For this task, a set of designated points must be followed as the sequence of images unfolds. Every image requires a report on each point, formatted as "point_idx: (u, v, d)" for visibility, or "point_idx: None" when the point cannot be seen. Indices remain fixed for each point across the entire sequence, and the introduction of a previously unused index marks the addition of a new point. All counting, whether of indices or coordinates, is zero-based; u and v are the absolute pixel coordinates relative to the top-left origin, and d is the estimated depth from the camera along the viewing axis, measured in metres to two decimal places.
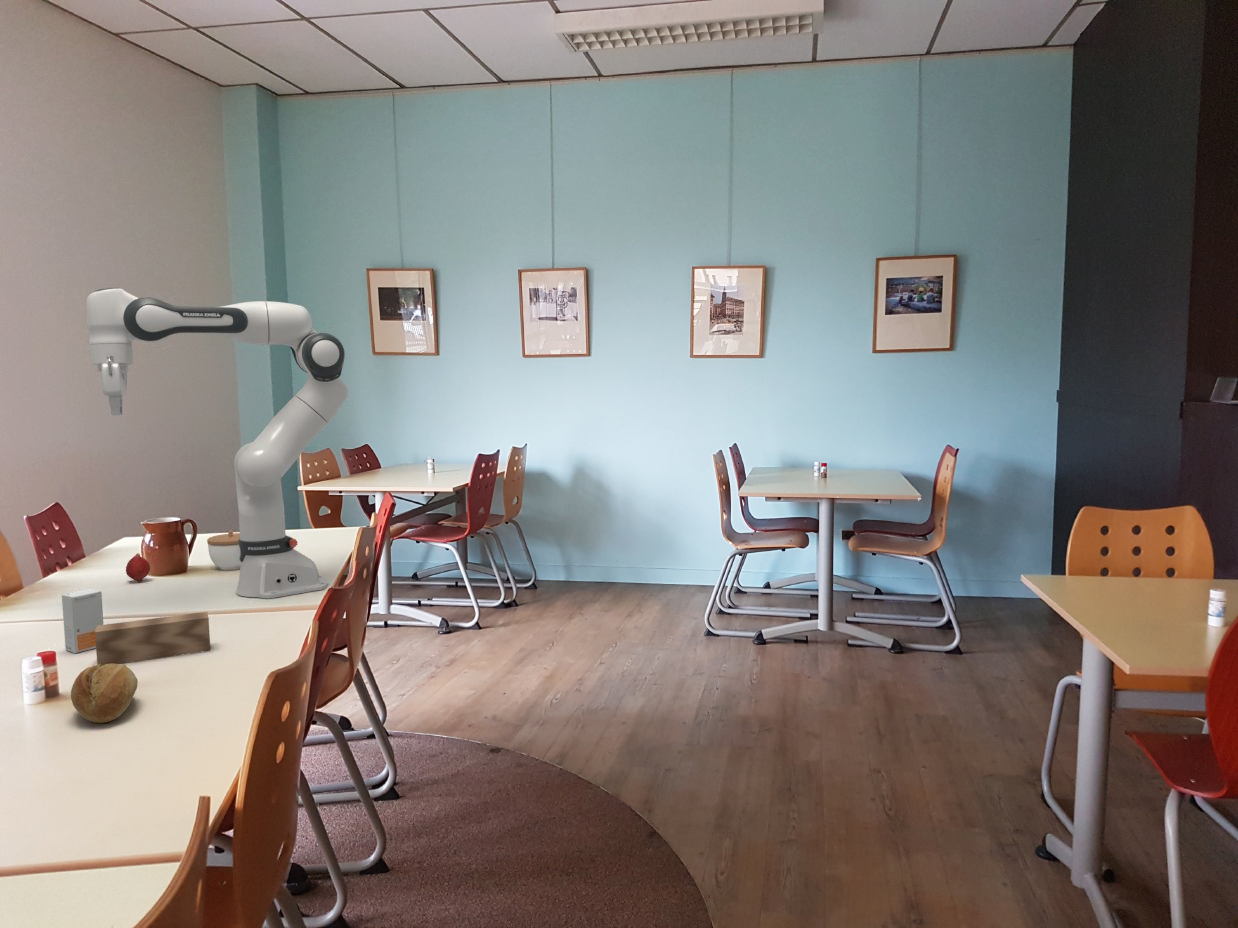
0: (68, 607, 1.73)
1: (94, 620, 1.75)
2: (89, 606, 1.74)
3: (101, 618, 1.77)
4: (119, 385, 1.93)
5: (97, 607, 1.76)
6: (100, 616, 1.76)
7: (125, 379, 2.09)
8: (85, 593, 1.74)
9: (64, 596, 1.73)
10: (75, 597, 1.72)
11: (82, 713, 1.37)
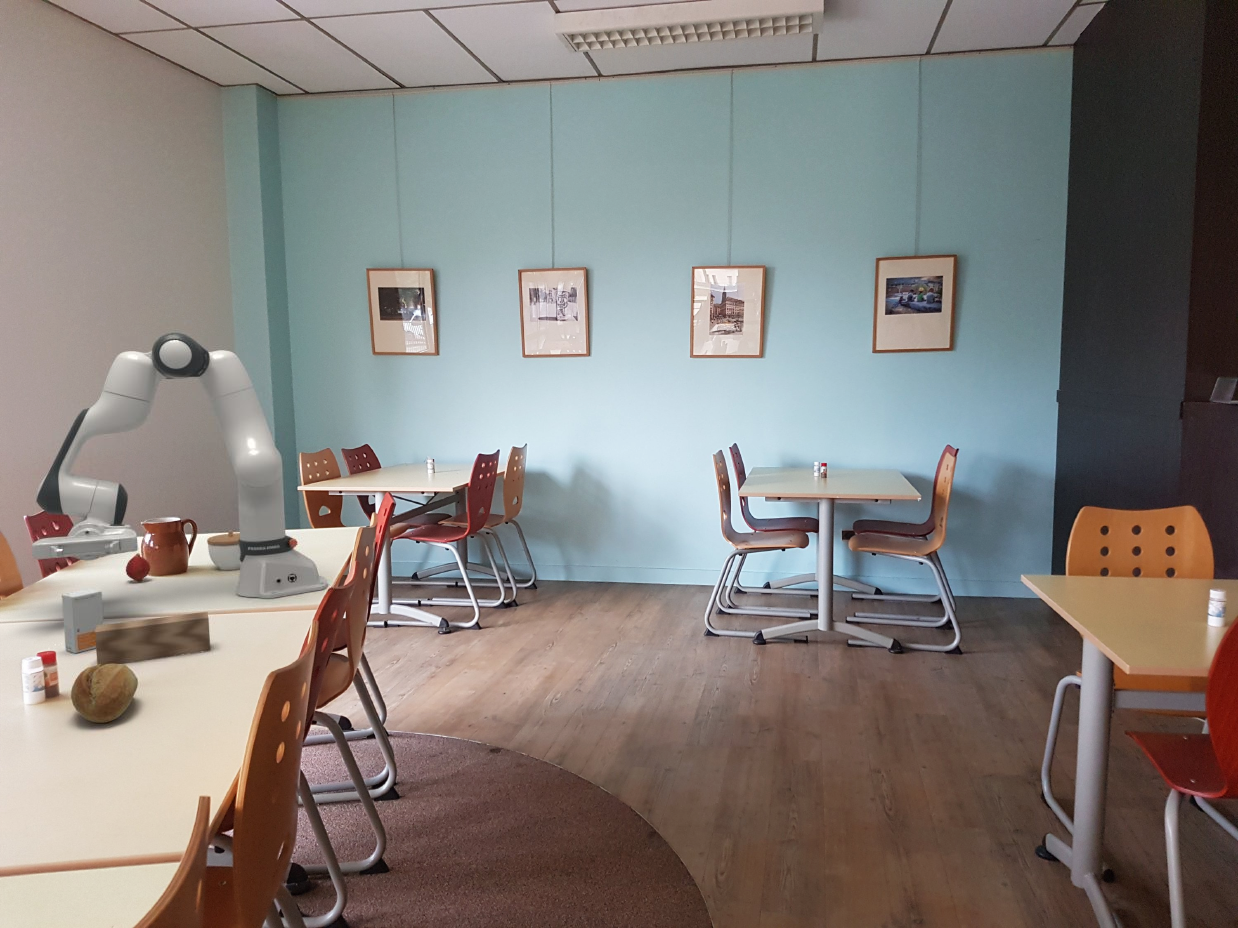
0: (68, 607, 1.73)
1: (94, 620, 1.75)
2: (89, 606, 1.75)
3: (101, 618, 1.77)
4: (33, 543, 1.86)
5: (97, 607, 1.76)
6: (100, 616, 1.76)
7: (128, 533, 1.96)
8: (85, 593, 1.74)
9: (64, 596, 1.73)
10: (75, 597, 1.72)
11: (82, 713, 1.37)
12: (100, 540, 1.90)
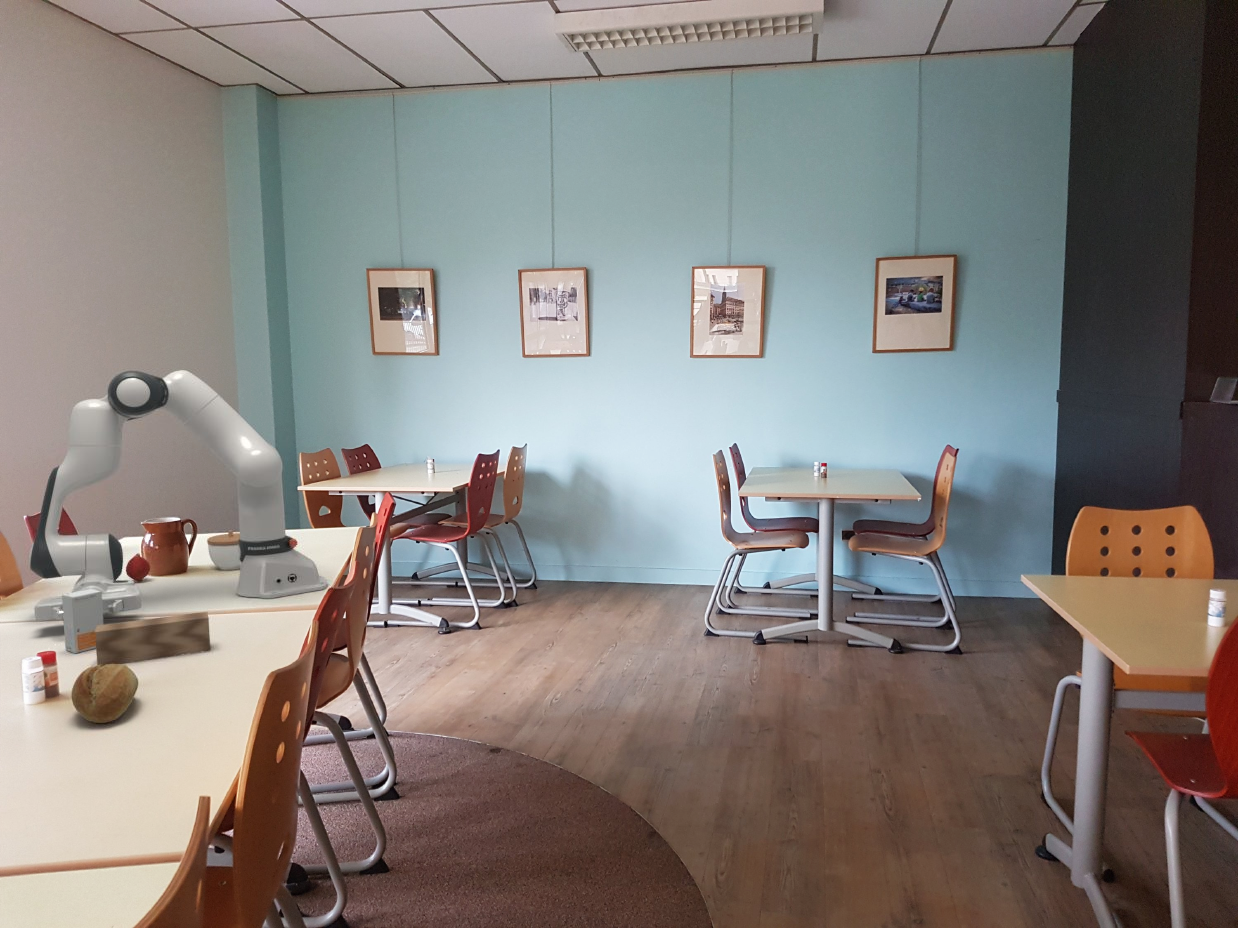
0: (68, 607, 1.73)
1: (94, 620, 1.75)
2: (89, 606, 1.74)
3: (101, 618, 1.77)
4: None
5: (97, 607, 1.76)
6: (100, 616, 1.76)
7: (131, 590, 1.94)
8: (85, 593, 1.74)
9: (64, 596, 1.73)
10: (75, 597, 1.72)
11: (82, 713, 1.37)
12: (103, 599, 1.88)
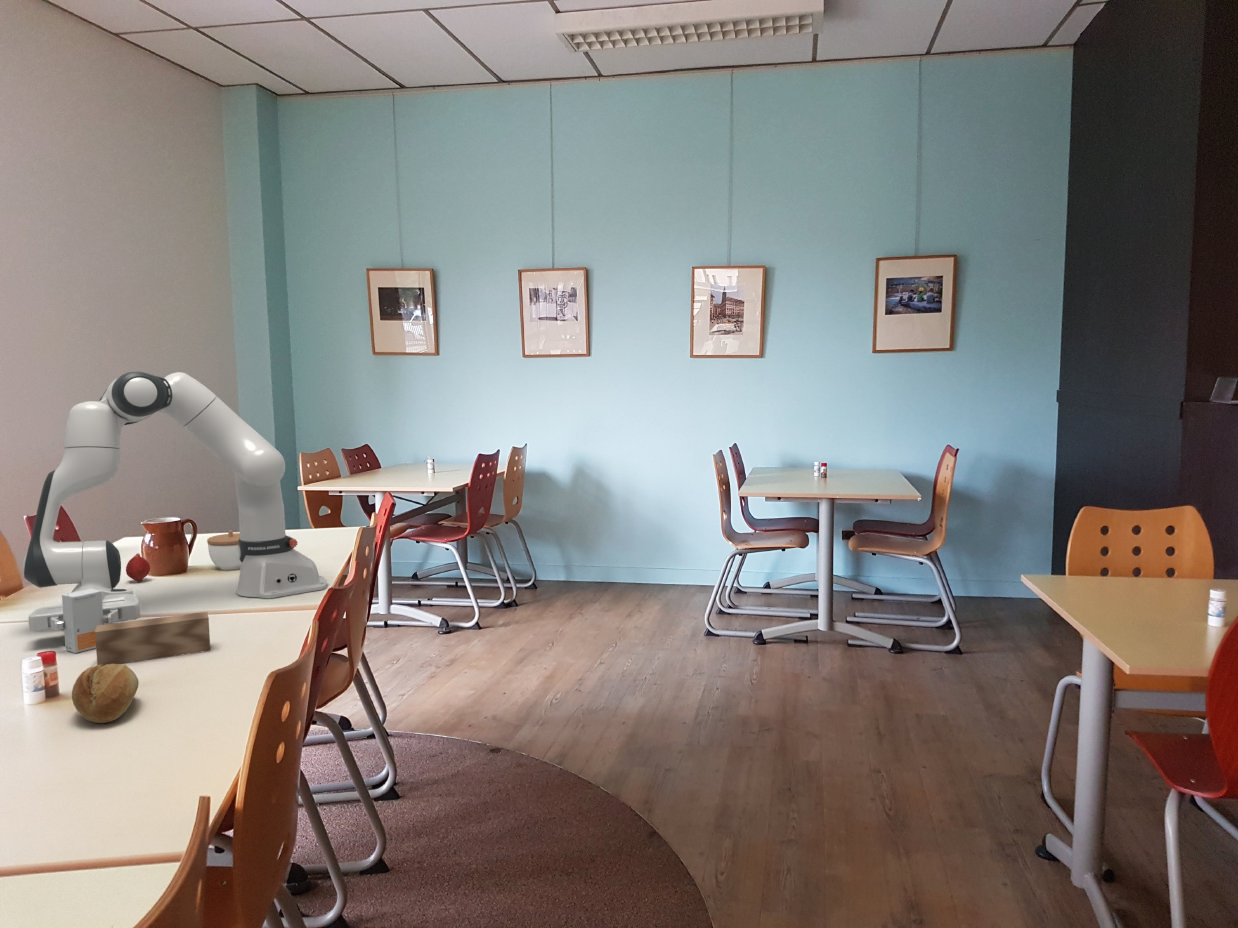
0: (68, 607, 1.73)
1: (94, 620, 1.75)
2: (89, 606, 1.74)
3: (101, 618, 1.77)
4: (30, 614, 1.76)
5: (97, 607, 1.76)
6: (100, 616, 1.76)
7: (130, 599, 1.86)
8: (85, 593, 1.74)
9: (64, 596, 1.73)
10: (75, 597, 1.72)
11: (83, 713, 1.37)
12: None
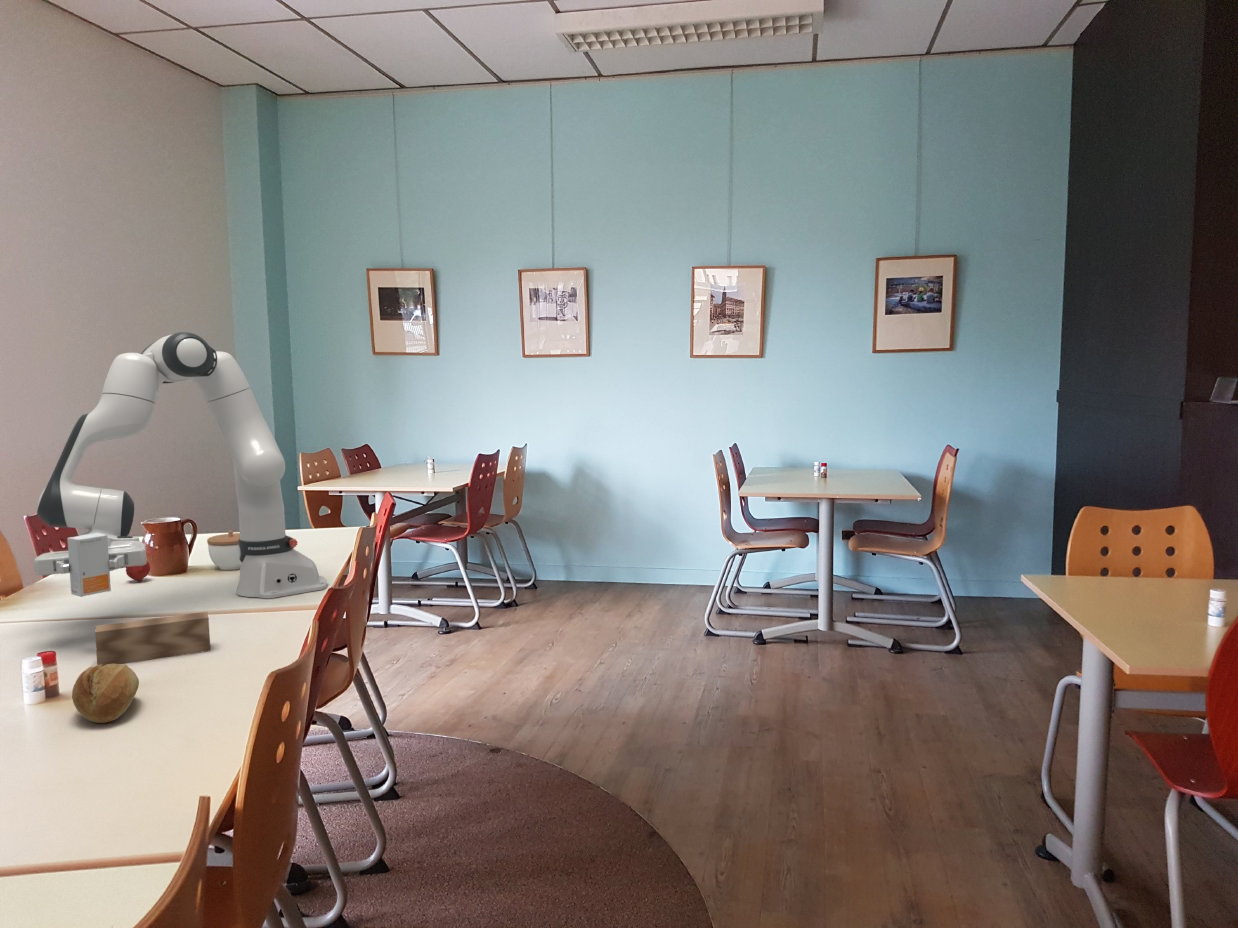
0: (73, 550, 1.70)
1: (100, 564, 1.73)
2: (95, 549, 1.72)
3: (107, 562, 1.74)
4: None
5: (102, 551, 1.74)
6: (106, 560, 1.74)
7: (136, 545, 1.84)
8: (91, 536, 1.72)
9: (70, 539, 1.71)
10: (81, 540, 1.70)
11: (83, 713, 1.37)
12: None
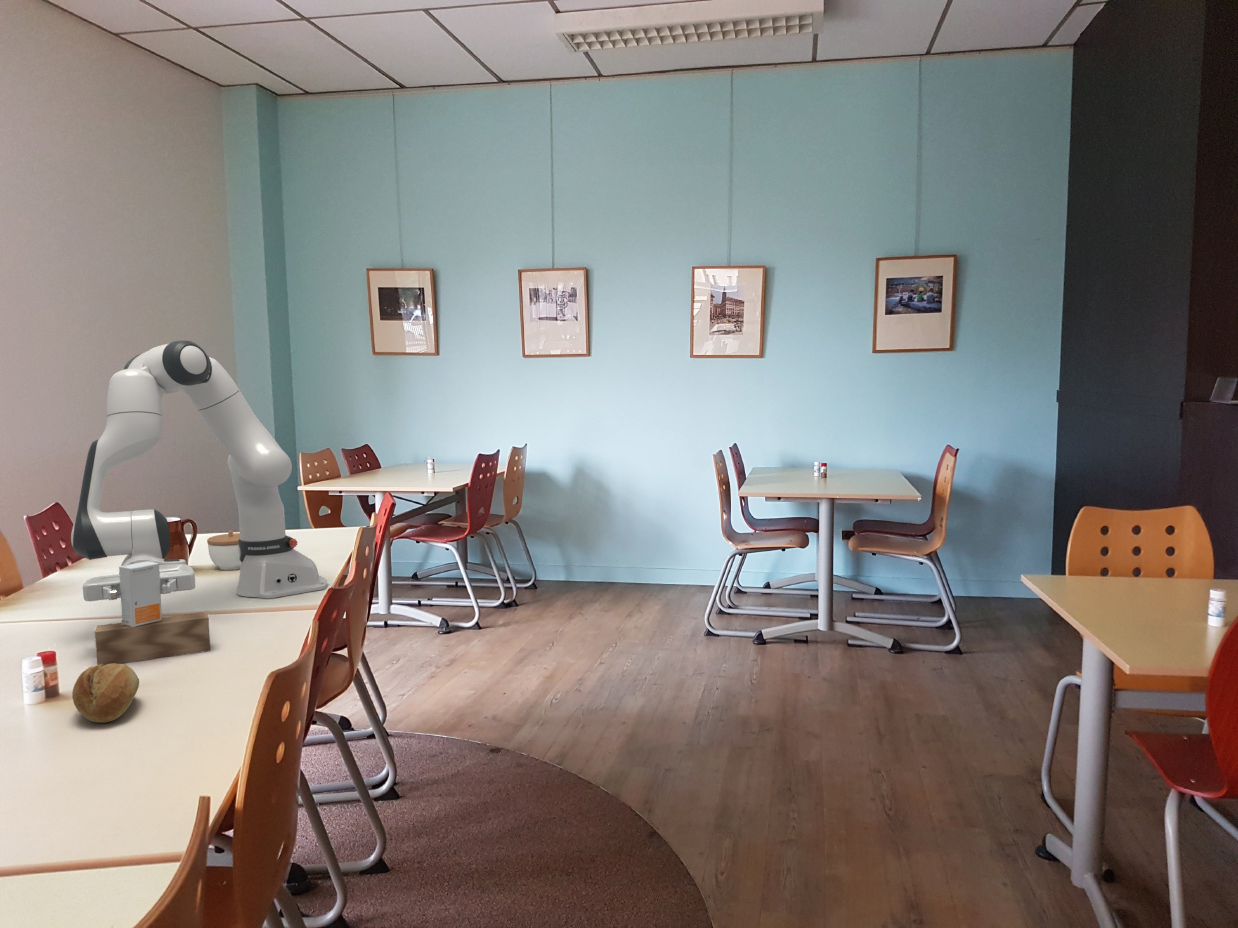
0: (125, 579, 1.67)
1: (152, 593, 1.69)
2: (147, 578, 1.68)
3: (158, 591, 1.71)
4: (84, 583, 1.70)
5: (154, 580, 1.70)
6: (158, 589, 1.70)
7: (184, 569, 1.80)
8: (143, 565, 1.68)
9: (122, 568, 1.67)
10: (133, 569, 1.66)
11: (83, 713, 1.37)
12: None
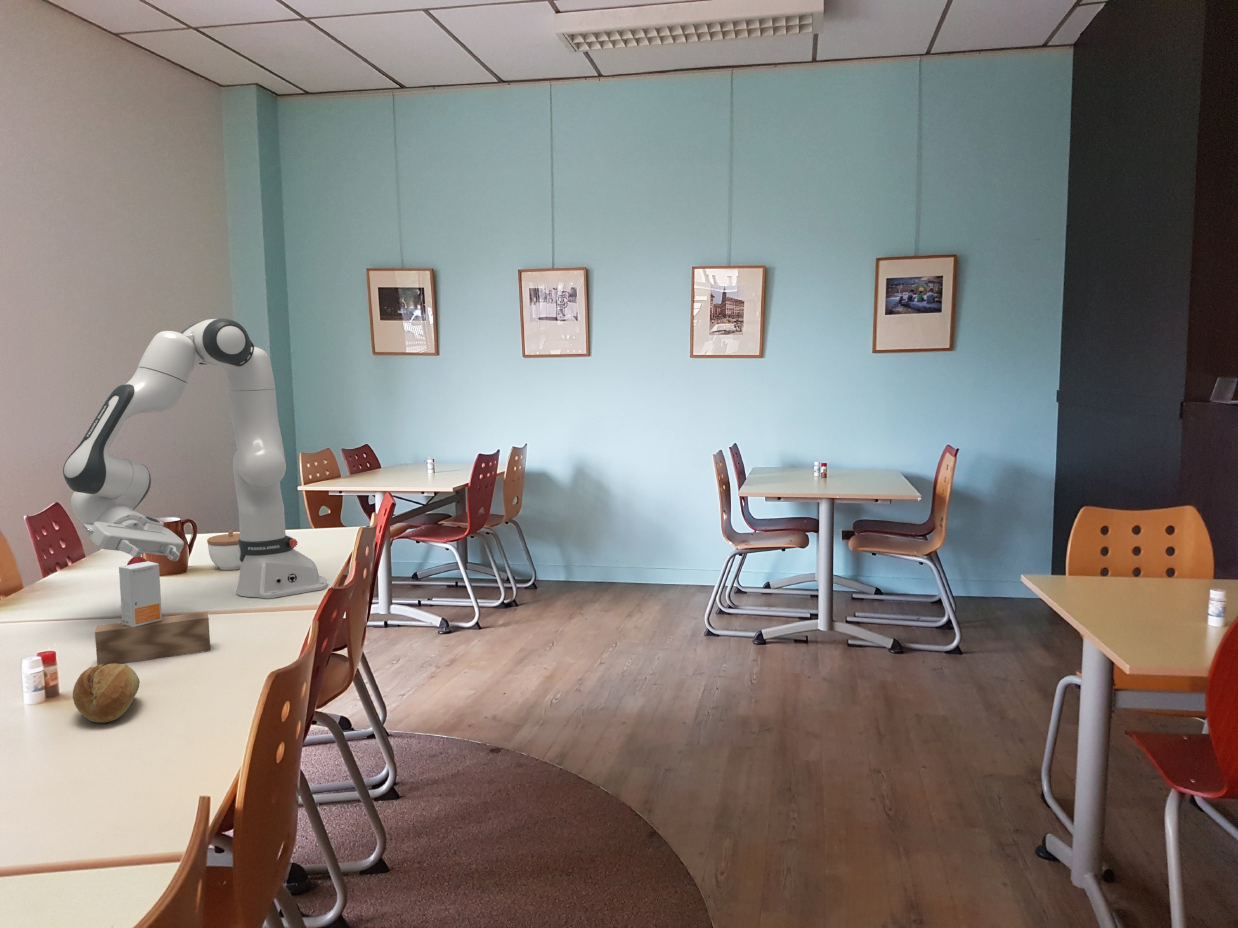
0: (125, 579, 1.67)
1: (152, 594, 1.69)
2: (147, 579, 1.68)
3: (158, 592, 1.71)
4: (101, 531, 1.79)
5: (154, 580, 1.70)
6: (157, 589, 1.70)
7: (171, 534, 1.97)
8: (143, 565, 1.68)
9: (121, 568, 1.67)
10: (133, 569, 1.66)
11: (83, 713, 1.37)
12: (159, 542, 1.90)
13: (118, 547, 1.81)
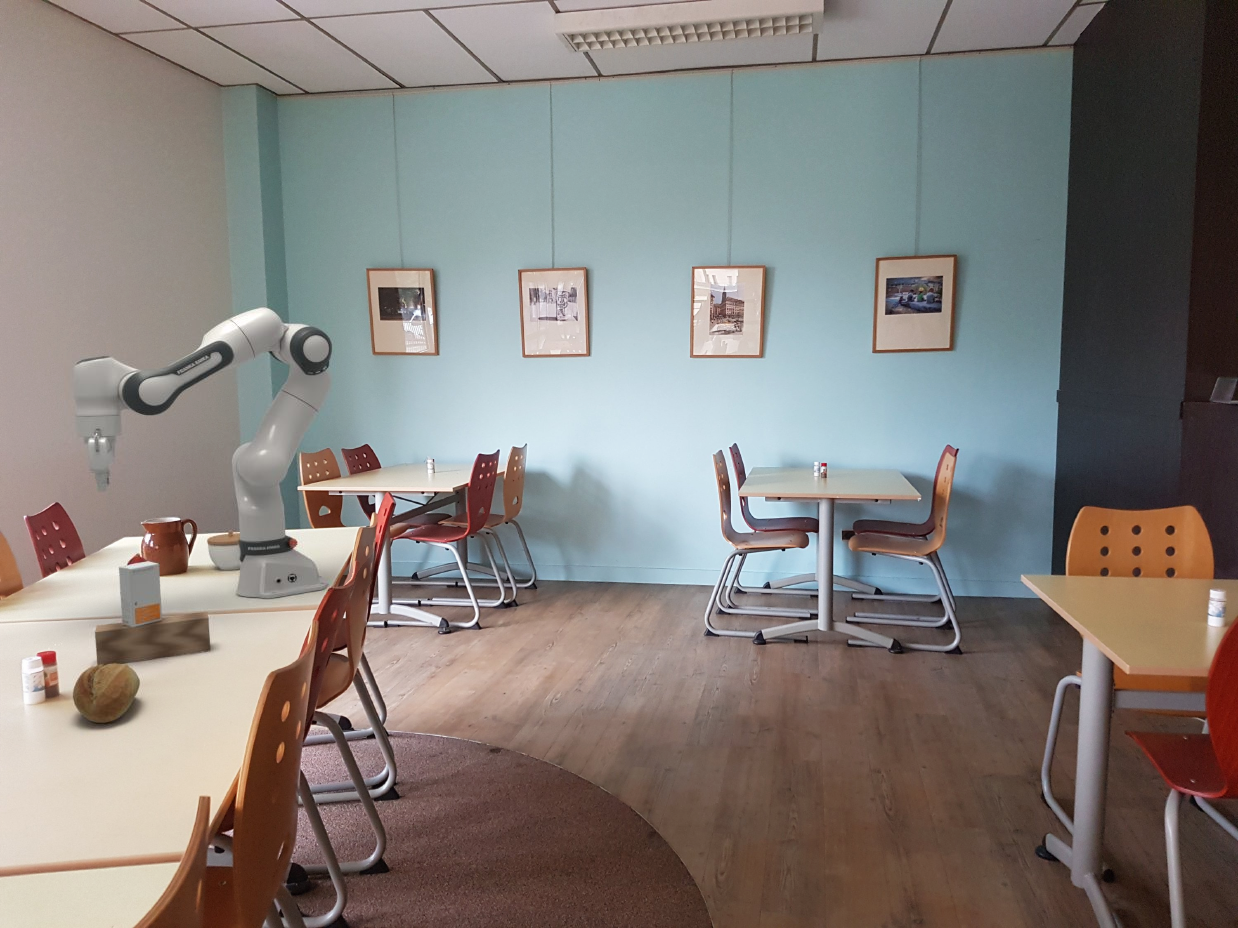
0: (125, 579, 1.67)
1: (152, 594, 1.69)
2: (147, 579, 1.68)
3: (158, 592, 1.71)
4: (106, 462, 1.84)
5: (154, 580, 1.70)
6: (157, 589, 1.70)
7: (113, 447, 2.00)
8: (143, 565, 1.68)
9: (121, 568, 1.67)
10: (133, 569, 1.66)
11: (83, 713, 1.37)
12: None
13: (96, 473, 1.86)
